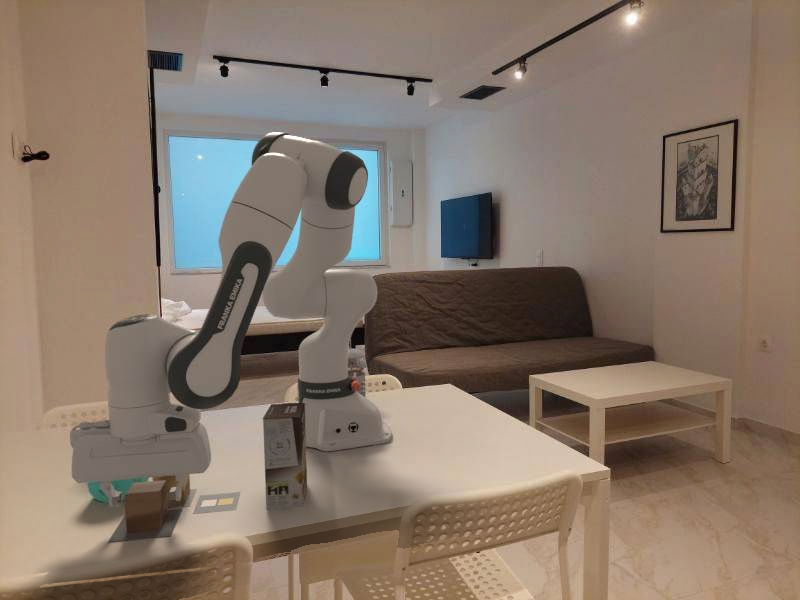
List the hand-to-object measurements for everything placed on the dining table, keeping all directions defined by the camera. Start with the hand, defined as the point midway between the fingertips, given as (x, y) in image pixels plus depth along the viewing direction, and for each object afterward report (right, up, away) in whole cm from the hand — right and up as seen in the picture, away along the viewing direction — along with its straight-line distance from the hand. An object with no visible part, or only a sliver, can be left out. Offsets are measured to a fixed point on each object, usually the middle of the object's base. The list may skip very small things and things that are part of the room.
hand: (146, 502), depth 90 cm
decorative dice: (-10, -3, +13) cm, 17 cm away
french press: (+27, +3, +71) cm, 76 cm away
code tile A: (+9, -3, +8) cm, 12 cm away
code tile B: (0, -3, +10) cm, 10 cm away
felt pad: (0, -4, 0) cm, 4 cm away
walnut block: (0, -4, +1) cm, 4 cm away
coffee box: (+21, -3, +10) cm, 23 cm away
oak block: (0, -3, +10) cm, 10 cm away
